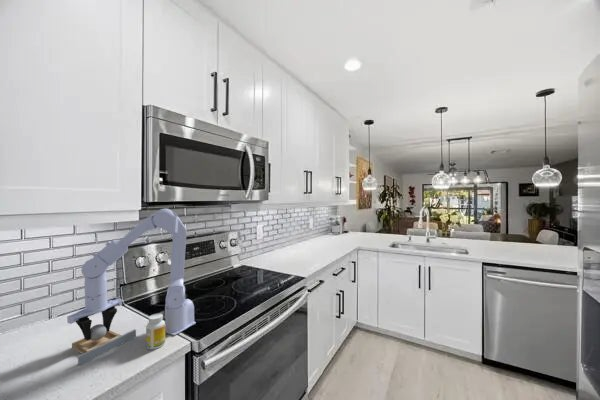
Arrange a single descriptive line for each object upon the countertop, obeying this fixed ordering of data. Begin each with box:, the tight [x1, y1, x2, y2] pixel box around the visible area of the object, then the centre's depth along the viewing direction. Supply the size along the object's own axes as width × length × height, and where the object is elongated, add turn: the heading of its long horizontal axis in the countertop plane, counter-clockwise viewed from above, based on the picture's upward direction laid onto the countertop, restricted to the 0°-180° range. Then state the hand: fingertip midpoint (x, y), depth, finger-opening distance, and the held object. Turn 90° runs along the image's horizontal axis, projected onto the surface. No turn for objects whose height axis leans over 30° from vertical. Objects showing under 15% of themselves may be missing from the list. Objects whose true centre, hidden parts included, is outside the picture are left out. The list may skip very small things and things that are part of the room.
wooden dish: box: [71, 329, 122, 354], centre depth 83 cm, size 10×10×2 cm
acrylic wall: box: [77, 328, 137, 366], centre depth 80 cm, size 16×1×2 cm, turn 154°
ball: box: [90, 323, 107, 341], centre depth 83 cm, size 5×5×5 cm
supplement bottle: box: [145, 312, 166, 350], centre depth 82 cm, size 5×5×10 cm
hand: (97, 334), depth 83 cm, fingers closed on ball, 5 cm apart
